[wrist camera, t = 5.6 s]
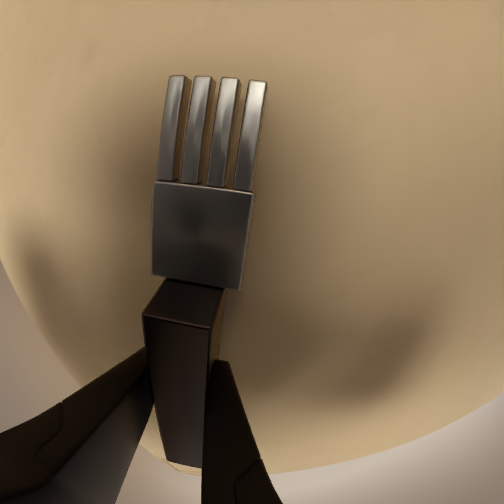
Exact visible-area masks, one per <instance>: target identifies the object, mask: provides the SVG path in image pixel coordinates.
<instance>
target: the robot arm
mask: <svg viewBox="0 0 504 504" xmlns="http://www.w3.org/2000/svg"><path fill="white" fill-rule="evenodd" d="M153 404H154V401H153V396H152V390H151V384H150V378H149V371H148V366H147V358H146V351H145V347H143V348H142V349H140V350H139V351H137V352H136V353H134V354H133V355H131V356H130V357H128V358H127V359H125V360H124V361H122V362H121V363H119V364H118V365H116V366H115V367H113V368H112V369H110V370H109V371H107V372H106V373H104V374H103V375H101V376H100V377H98V378H96V379H95V380H93V381H92V382H90V383H89V384H87V385H86V386H84V387H83V388H81V389H80V390H78V391H77V392H75V393H74V394H72V395H70V396H69V397H67V398H66V399H64V400H63V401H62V403H61V402H60V403H58V404H56V405H55V406H53V407H52V408H50V409H48V410H46V411H45V412H43V413H41V414H40V415H38V416H36V417H34V418H32V419H30V420H28V421H26V422H24V423H22V424H20V425H18V426H15V427H13V428H11V429H9V430H6V431H4V432H2V433H0V504H115V502H116V500H117V497H118V494H119V492H120V489H121V486H122V484H123V481H124V479H125V476H126V474H127V471H128V469H129V466H130V464H131V461H132V459H133V456H134V454H135V451H136V449H137V446H138V444H139V441H140V439H141V436H142V434H143V432H144V429H145V427H146V424H147V422H148V419H149V417H150V414H151V411H152V408H153ZM260 457H261V456H260V453H259V450H258V447H257V445H256V442H255V439H254V436H253V434H252V431H251V428H250V425H249V422H248V419H247V416H246V413H245V410H244V407H243V404H242V401H241V398H240V395H239V392H238V389H237V386H236V383H235V380H234V377H233V373H232V370H231V367H230V364H229V362H228V361H224V360H218V359H216V360H215V362H214V365H213V369H212V373H211V376H210V380H209V381H208V384H207V388H206V393H205V405H204V425H203V448H202V484H201V504H283V503H282V502H281V500H280V498H279V496H278V494H277V493H276V491H275V489H274V487H273V485H272V483H271V480H270V478H269V476H268V473H267V471H266V469H265V466H264V463H263V461H262V459H261V458H260Z"/></svg>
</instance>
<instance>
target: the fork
mask: <svg viewBox="0 0 504 504" xmlns="http://www.w3.org/2000/svg"><path fill="white" fill-rule="evenodd" d="M191 84H192V81H191V80H190V79H189V78H188V77H186V76H184V75H171V76H170V77H169V81H168V87H167V93H166V100H165V107H164V114H163V121H162V129H161V138H160V147H159V158H158V169H157V180H154V182H153V192H152V214H151V274H152V275H154V276H159V277H165V278H166V279H165V280H164V282H163V283H162V284H161V286H160V287H159V289H158V290H157V292H156V293H155V295H154V296H153V297H152V299H151V300H150V302H149V303H148V305H147V306H146V308H145V309H144V311H143V312H142V324H143V334H144V343H145V351H146V358H147V366H148V371H149V378H150V384H151V390H152V396H153V401H154V407H155V412H156V417H157V421H158V426H159V431H160V435H161V439H162V443H163V447H164V451H165V455H166V459H167V461H170V462H174V463H178V464H182V465H187V466H191V467H196V468H201V469H202V448H203V425H204V405H205V393H206V388H207V384H208V381H209V380H210V376H211V373H212V369H213V365H214V362H215V360H216V359H218V360H219V351H220V341H221V332H222V323H223V314H224V305H225V296H226V289H232V290H240V289H241V286H242V281H243V274H244V267H245V261H246V254H247V247H248V241H249V234H250V227H251V221H252V214H253V207H254V201H255V194H256V191H255V189H253V188H252V186H253V179H254V173H255V166H256V159H257V153H258V146H259V140H260V133H261V127H262V120H263V114H264V108H265V101H266V95H267V89H268V87H267V82H266V81H259V80H249V82H248V88H247V94H246V101H245V107H244V114H243V120H242V127H241V133H240V140H239V147H238V154H237V161H236V168H235V176H234V183H233V185H226V184H227V182H228V174H229V167H230V159H231V152H232V145H233V138H234V131H235V124H236V118H237V111H238V105H239V98H240V92H241V86H242V84H241V82H240V80H239V79H238V78H230V77H222V78H221V82H220V88H219V94H218V100H217V107H216V113H215V120H214V127H213V134H212V142H211V150H210V157H209V166H208V174H207V182H202V180H203V175H204V166H205V158H206V149H207V142H208V134H209V127H210V120H211V113H212V106H213V100H214V94H215V88H216V81H215V80H214V79H213V78H212V77H211V76H195V77H194V83H193V89H192V95H191V101H190V108H189V115H188V122H187V130H186V138H185V146H184V155H183V164H182V174H181V179H178V178H179V176H180V166H181V156H182V147H183V139H184V131H185V123H186V116H187V109H188V102H189V96H190V90H191Z"/></svg>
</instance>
